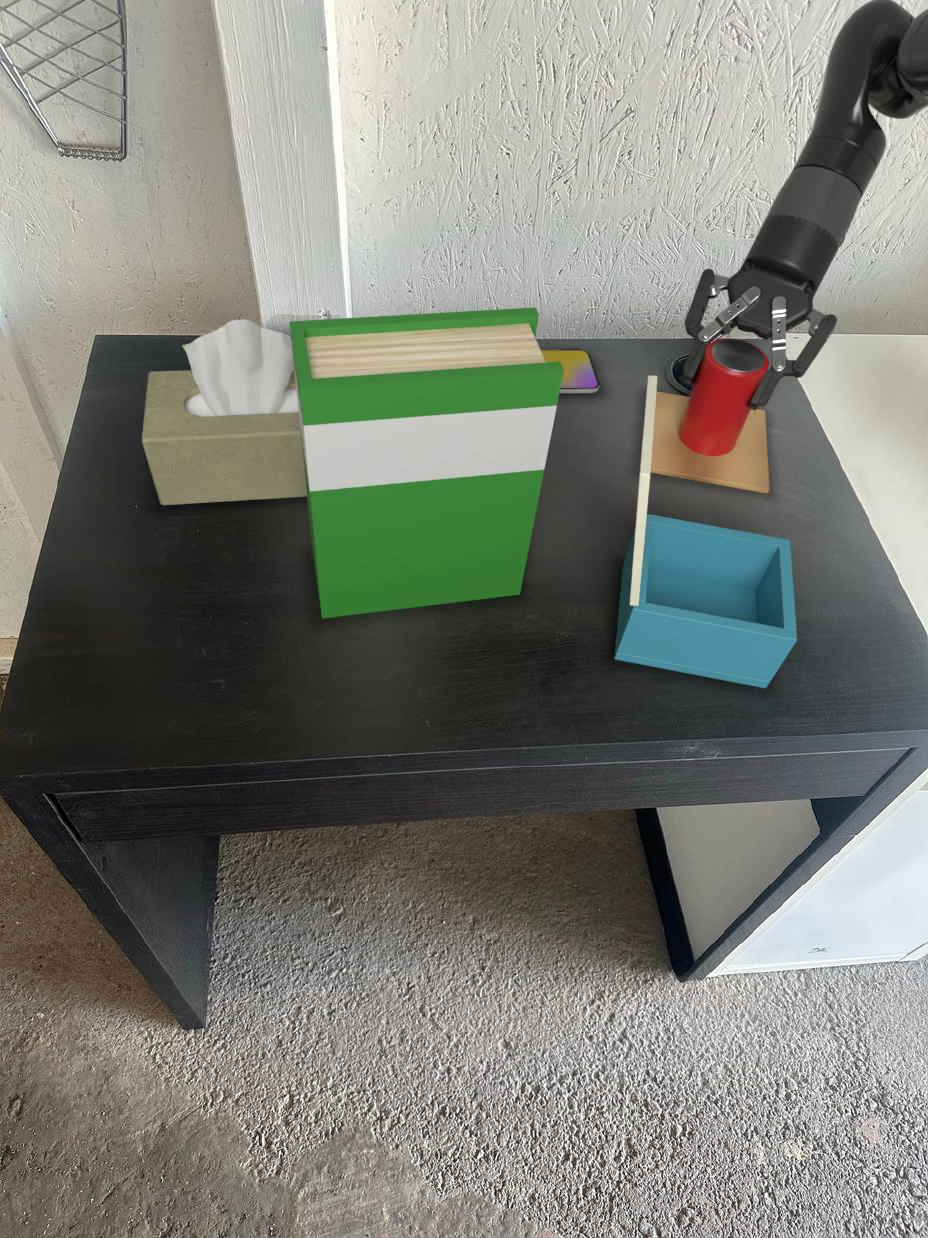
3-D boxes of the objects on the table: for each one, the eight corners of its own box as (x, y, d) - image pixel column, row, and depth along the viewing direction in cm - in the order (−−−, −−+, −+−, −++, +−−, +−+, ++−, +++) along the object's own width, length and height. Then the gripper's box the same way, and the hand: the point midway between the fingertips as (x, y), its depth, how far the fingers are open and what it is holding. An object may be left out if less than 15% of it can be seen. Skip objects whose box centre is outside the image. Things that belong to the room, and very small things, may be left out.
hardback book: (500, 534, 81) (535, 307, 62) (519, 594, 77) (564, 369, 58) (312, 554, 78) (289, 321, 59) (321, 618, 73) (300, 388, 54)
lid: (657, 375, 63) (648, 374, 64) (650, 474, 57) (639, 473, 57) (645, 509, 74) (637, 508, 74) (638, 606, 67) (629, 605, 67)
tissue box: (350, 428, 89) (345, 289, 76) (359, 494, 83) (354, 355, 70) (162, 437, 86) (124, 294, 73) (157, 507, 80) (115, 364, 67)
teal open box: (762, 591, 79) (790, 539, 74) (766, 688, 72) (797, 640, 67) (622, 565, 80) (640, 512, 74) (614, 659, 73) (632, 609, 67)
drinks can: (735, 423, 93) (769, 341, 85) (736, 460, 89) (771, 379, 81) (678, 413, 93) (706, 331, 85) (676, 450, 89) (705, 368, 81)
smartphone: (601, 389, 95) (467, 389, 93) (600, 394, 95) (466, 395, 93) (588, 349, 99) (459, 349, 97) (587, 354, 100) (459, 354, 98)
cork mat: (763, 414, 95) (765, 409, 95) (767, 493, 87) (769, 489, 87) (647, 393, 96) (649, 389, 95) (641, 471, 88) (642, 466, 87)
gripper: (731, 190, 81) (650, 358, 83) (881, 241, 77) (790, 415, 80) (733, 223, 88) (658, 376, 91) (870, 271, 84) (787, 430, 87)
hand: (720, 394), depth 85 cm, fingers closed on drinks can, 6 cm apart
